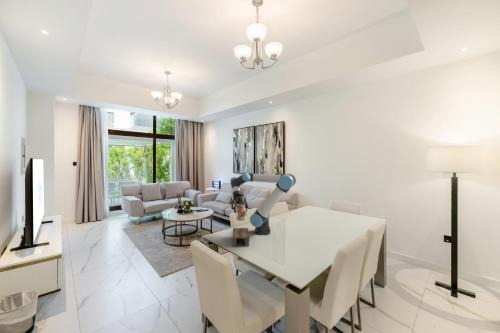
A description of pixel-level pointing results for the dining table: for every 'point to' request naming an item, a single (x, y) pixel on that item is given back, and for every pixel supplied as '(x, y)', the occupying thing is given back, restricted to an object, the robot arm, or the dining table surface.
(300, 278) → the dining table surface
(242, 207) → the cord reel
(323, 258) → the dining table surface
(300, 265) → the dining table surface
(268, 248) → the dining table surface
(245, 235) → the bridge shelf
